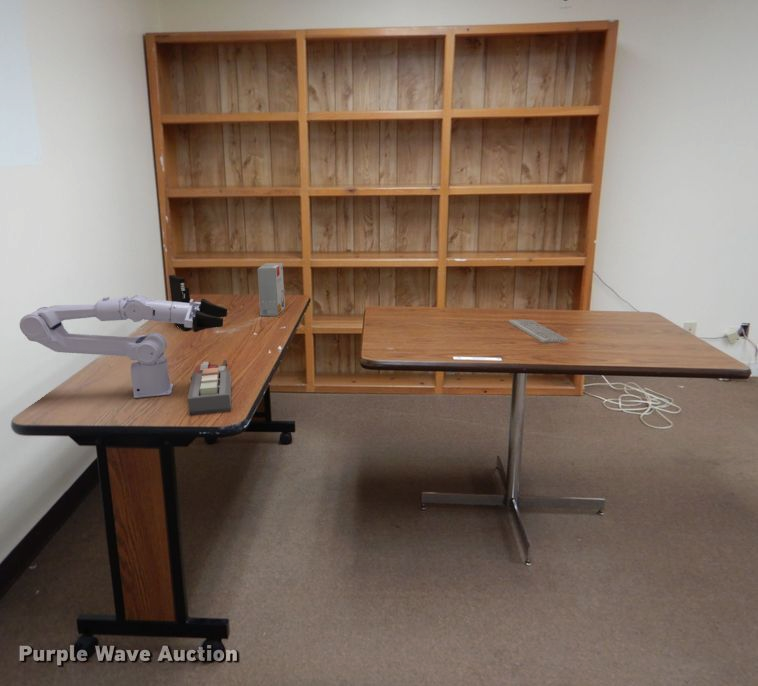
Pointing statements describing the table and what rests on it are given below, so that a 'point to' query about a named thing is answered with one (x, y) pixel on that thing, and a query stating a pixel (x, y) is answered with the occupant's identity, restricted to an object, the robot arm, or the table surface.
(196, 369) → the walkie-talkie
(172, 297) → the handheld gaming console
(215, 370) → the terracotta key
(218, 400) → the keypad housing
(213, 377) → the offwhite key
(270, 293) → the hard drive box
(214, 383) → the sage key
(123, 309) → the robot arm
